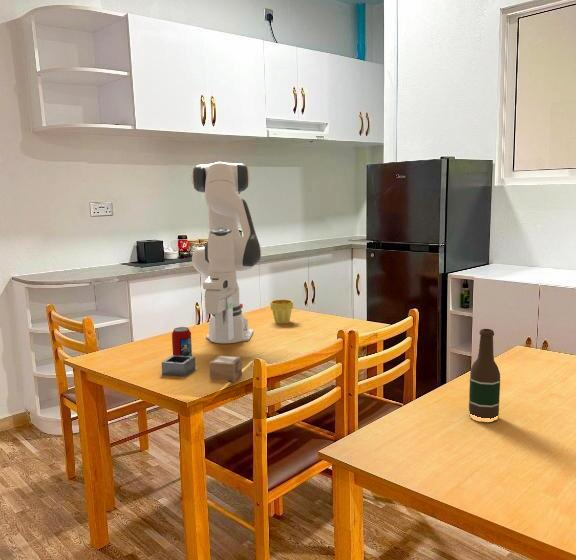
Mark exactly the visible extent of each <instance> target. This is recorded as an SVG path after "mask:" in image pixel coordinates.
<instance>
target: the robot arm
mask: <svg viewBox="0 0 576 560" xmlns="http://www.w3.org/2000/svg"><path fill="white" fill-rule="evenodd" d="M190 179H191V180H190V181H191V184H192V186H193V188H194V189H195V191H197V192H199V193H204V197H205V202H206V205H207V206H208V227H209V230H210V231H209V232H208V237H207V238H208V239H207V241H206V243H205V244H203V246H199V247H197V248H195V250H194V251H193V253H192V256H191V263H192V266H193V268H194V269H195V270H196V271H197V272H198V273H199V274H201V275H202V276H203V277H204V278H205V280H204V282H202V289H203V290H205V291H204V306H205V307H204V308H205V311H206V313H207V314H208V315H212V316H211V317H210V318H209V319H208V334H207V335H205V339H207V340H209V341H210V342H211V343H216V344H234V343H239V342H247V341H250V339H251V337H252V336H253V334H254V329H252V328H249V323H248V319H247V318H246V317H245V316H244V314H242V313H243V310H242V309H243V307H244V304H243V303H240V287H239V284H238V280H237V272H244V271H249V270H252V269H253V268H254V266H256V264H258V263H259V262H260V261H261V258H262V248H261V244H260V242H259V239H258V235H257V233H256V231H255V226H254V223H253V218H252V215H251V212H250V211H251V210H250V209H249V206H248V203H247V201H246V200H245V199H244V198H242V197H240V196H239V195H240V194H241V193H242V192H244V191H246V189H247V188H248V187H249V185H250V182H251V173H250V171H249V169H248V166H247V164H244V163H241V162H240V163H239V162H238V163H232V162H223V161H217V162H214V163H207V164H203V163H202V164H197V165H195V166H194V168H193V169H192V171H191V178H190ZM238 223H239V224H240V227H241V231H242V234H243V235H241V233H240V231H239V226H238ZM231 295H232V301H233V330H234V338H232V339H231V340H230V341H220V340H216V326H215V315H216V318H217V324H218V325H222V324H224V318H223V316H222V314H223V311H224V310H226V298H227V297H229V296H231Z"/></svg>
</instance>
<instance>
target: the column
mask: <svg viewBox="0 0 576 560" xmlns="http://www.w3.org/2000/svg"><path fill="white" fill-rule="evenodd" d="M222 316H223V318H224V324H222V325H218V324H217V318H216V315H215V326H216V340H220V341H230V340H231V339H232V338H234V330H233V301H232V295H231V296H229V297H227V298H226V310H224V311H223V314H222Z"/></svg>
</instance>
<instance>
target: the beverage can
mask: <svg viewBox="0 0 576 560" xmlns="http://www.w3.org/2000/svg"><path fill="white" fill-rule="evenodd" d="M171 342H172V345H171V346H172V355H179V356H193V349H192V346H193V345H192V332H191V330H190V328H189V327H187V326H179V327H175V328H173V331H172V332H171Z"/></svg>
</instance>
